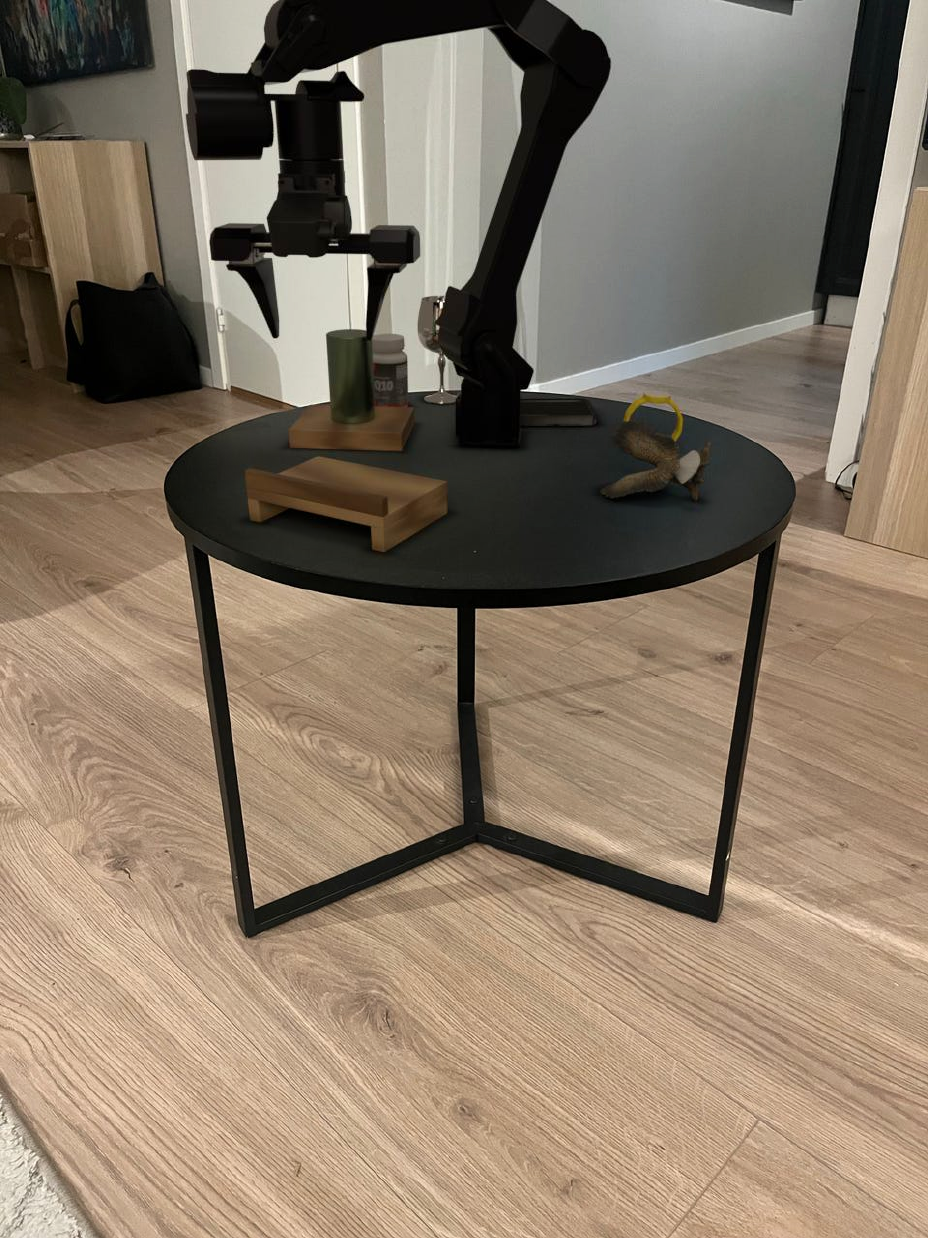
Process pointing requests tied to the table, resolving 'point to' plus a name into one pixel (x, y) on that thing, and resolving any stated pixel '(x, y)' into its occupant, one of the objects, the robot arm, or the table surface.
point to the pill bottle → (390, 371)
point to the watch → (657, 398)
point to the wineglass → (433, 342)
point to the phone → (557, 412)
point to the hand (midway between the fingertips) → (322, 338)
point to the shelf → (350, 497)
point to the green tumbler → (350, 376)
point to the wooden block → (352, 430)
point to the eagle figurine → (656, 461)
